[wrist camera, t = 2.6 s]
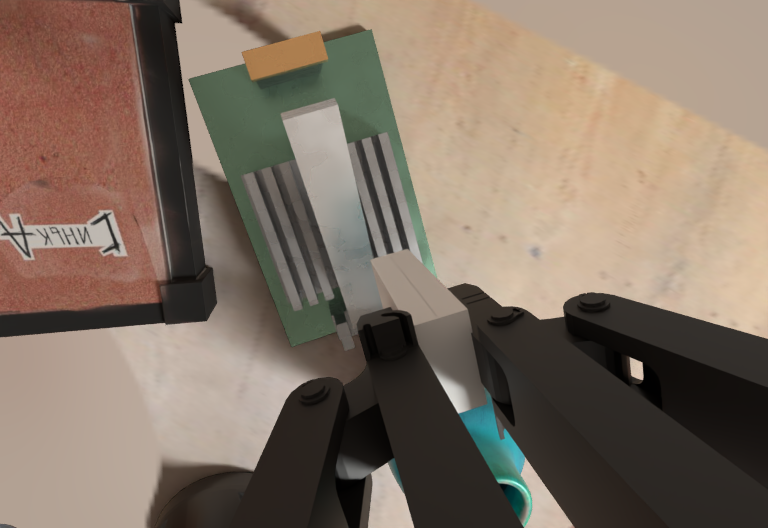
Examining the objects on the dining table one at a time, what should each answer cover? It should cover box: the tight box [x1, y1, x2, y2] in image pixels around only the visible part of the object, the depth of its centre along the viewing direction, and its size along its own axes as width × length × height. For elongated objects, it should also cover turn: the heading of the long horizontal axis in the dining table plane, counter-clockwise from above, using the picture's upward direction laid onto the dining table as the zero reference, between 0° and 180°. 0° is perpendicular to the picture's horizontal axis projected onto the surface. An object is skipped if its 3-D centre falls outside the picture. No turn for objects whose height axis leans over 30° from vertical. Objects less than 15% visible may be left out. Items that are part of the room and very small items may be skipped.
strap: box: [280, 98, 383, 329], centre depth 30 cm, size 3×20×1 cm
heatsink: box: [189, 29, 437, 351], centre depth 36 cm, size 15×24×7 cm, turn 16°
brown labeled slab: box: [0, 0, 217, 337], centre depth 33 cm, size 26×18×5 cm
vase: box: [388, 387, 532, 527], centre depth 36 cm, size 11×11×19 cm
